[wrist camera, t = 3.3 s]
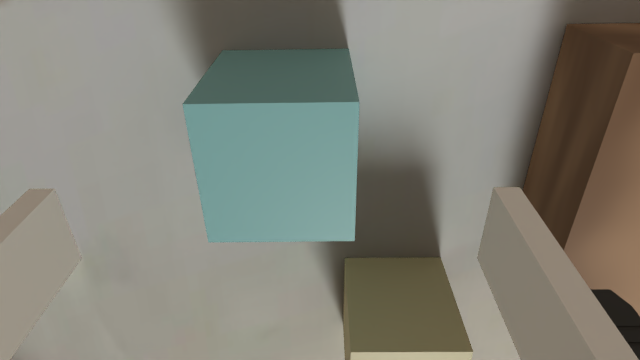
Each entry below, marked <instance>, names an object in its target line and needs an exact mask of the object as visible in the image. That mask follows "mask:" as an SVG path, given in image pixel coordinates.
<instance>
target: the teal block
mask: <svg viewBox="0 0 640 360" xmlns="http://www.w3.org/2000/svg"><path fill="white" fill-rule="evenodd" d="M183 109H184V114H185V120H186V125H187V130H188V136H189V141H190V146H191V152H192V157H193V162H194V168H195V173H196V178H197V184H198V189H199V194H200V200H201V205H202V210H203V216H204V221H205V226H206V232H207V237H208V242H303V241H355V217H356V188H357V158H358V128H359V98H358V93H357V88H356V83H355V78H354V73H353V68H352V63H351V58H350V53H349V49H289V50H222V52H221V53H220V54H219V56H218V57H217V58H216V60H215V61H214V63H213V64H212V65H211V67H210V68H209V69H208V71H207V72H206V73H205V75H204V76H203V77H202V79H201V80H200V81H199V83H198V84H197V85H196V87H195V88H194V89H193V91H192V92H191V94H190V95H189V96H188V98H187V99H186V100H185V102H184V103H183Z"/></svg>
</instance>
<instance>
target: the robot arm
mask: <svg viewBox="0 0 640 360" xmlns="http://www.w3.org/2000/svg"><path fill="white" fill-rule="evenodd" d="M81 259H82V257H81V254H80V252H79V249H78V247H77V244H76V242H75V239H74V237H73V234H72V232H71V229H70V227H69V224H68V221H67V219H66V216H65V214H64V211H63V209H62V206H61V204H60V201H59V199H58V196H57V194H56V191H55V189H29V190H28V191H27V192H26V193H24V194H23V195H22V196H21V197H20V198H19V199H18V200H17V201H16V202H15V203H14V204H13V205H12V206H11V207H9V208H8V209H7V210H6V211H5V212H4V213H3V214H2V215H1V216H0V360H10V359H11V358H12V356H13V355H14V354H15V352H16V351H17V349H18V348H19V347H20V345H21V344H22V342H23V341H24V339H25V338H26V337H27V335H28V334H29V332H30V331H31V330H32V328H33V327H34V325H35V324H36V322H37V321H38V320H39V318H40V317H41V315H42V314H43V313H44V311H45V310H46V308H47V307H48V305H49V304H50V303H51V301H52V300H53V298H54V297H55V296H56V294H57V293H58V291H59V290H60V288H61V287H62V286H63V284H64V283H65V281H66V280H67V279H68V277H69V276H70V274H71V273H72V271H73V270H74V269H75V267H76V266H77V264H78V263H79V262H80V260H81ZM477 259H478V261H479V263H480V266H481V268H482V270H483V273H484V275H485V277H486V280H487V282H488V284H489V287H490V289H491V291H492V294H493V296H494V298H495V301H496V303H497V305H498V308H499V310H500V312H501V315H502V317H503V319H504V322H505V324H506V326H507V329H508V331H509V333H510V336H511V338H512V340H513V343H514V345H515V347H516V350H517V352H518V354H519V357H520V359H521V360H640V316H639V315H638V313H637V312H636V311H635V309H634V308H633V307H632V306H631V305H630V304H629V303H627V302H626V301H625V300H623V299H622V298H621V297H619V296H618V295H617V294H616V293H614V292H613V291H612V290H610V289H590V288H589V287H588V285H587V284H586V282H585V281H584V279H583V278H582V277H581V275H580V274H579V272H578V271H577V269H576V268H575V266H574V265H573V264H572V262H571V261H570V259H569V258H568V256H567V255H566V253H565V252H564V251H563V249H562V248H561V246H560V245H559V243H558V242H557V240H556V239H555V237H554V236H553V235H552V233H551V232H550V230H549V229H548V227H547V226H546V224H545V223H544V222H543V220H542V219H541V217H540V216H539V214H538V213H537V211H536V210H535V208H534V207H533V206H532V204H531V203H530V201H529V200H528V198H527V197H526V195H525V194H524V193H523V191H522V190H521V188H520V187H494V188H493V192H492V196H491V201H490V205H489V209H488V213H487V218H486V222H485V226H484V231H483V235H482V239H481V244H480V248H479V252H478V257H477Z"/></svg>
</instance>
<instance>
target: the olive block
mask: <svg viewBox="0 0 640 360" xmlns="http://www.w3.org/2000/svg"><path fill="white" fill-rule="evenodd" d="M343 329H344V349H345V360H471V359H472V355H473V350H472V347H471V344H470V341H469V338H468V335H467V333H466V330H465V327H464V324H463V321H462V318H461V315H460V312H459V309H458V307H457V304H456V301H455V298H454V295H453V292H452V289H451V286H450V283H449V281H448V278H447V275H446V272H445V269H444V266H443V263H442V260H441V257H418V258H345V266H344V311H343Z"/></svg>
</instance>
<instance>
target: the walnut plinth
mask: <svg viewBox="0 0 640 360" xmlns="http://www.w3.org/2000/svg"><path fill="white" fill-rule="evenodd" d="M523 193H524V194H525V195H526V197H527V198H528V200H529V201H530V203H531V204H532V206H533V207H534V208H535V210H536V211H537V213H538V214H539V216H540V217H541V219H542V220H543V222H544V223H545V224H546V226H547V227H548V229H549V230H550V232H551V233H552V235H553V236H554V237H555V239H556V240H557V242H558V243H559V245H560V246H561V248H562V249H563V251H564V252H565V253H566V255H567V256H568V258H569V259H570V261H571V262H572V264H573V265H574V266H575V268H576V269H577V271H578V272H579V274H580V275H581V277H582V278H583V279H584V281H585V282H586V284H587V285H588V287H589V288H590V289H610V290H612V291H613V292H614V293H616V294H617V295H618V296H619V297H621V298H622V299H623V300H625V301H626V302H627V303H629V304H630V305H631V306H632V307H633V308H634V309H635V311H636V312H637V313H638V315H639V316H640V23H609V24H567V26H566V30H565V34H564V38H563V41H562V45H561V49H560V52H559V56H558V60H557V64H556V67H555V71H554V75H553V79H552V82H551V86H550V90H549V94H548V97H547V101H546V105H545V109H544V112H543V116H542V120H541V124H540V127H539V131H538V135H537V139H536V142H535V146H534V150H533V154H532V157H531V161H530V165H529V169H528V172H527V176H526V180H525V184H524V187H523Z"/></svg>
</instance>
